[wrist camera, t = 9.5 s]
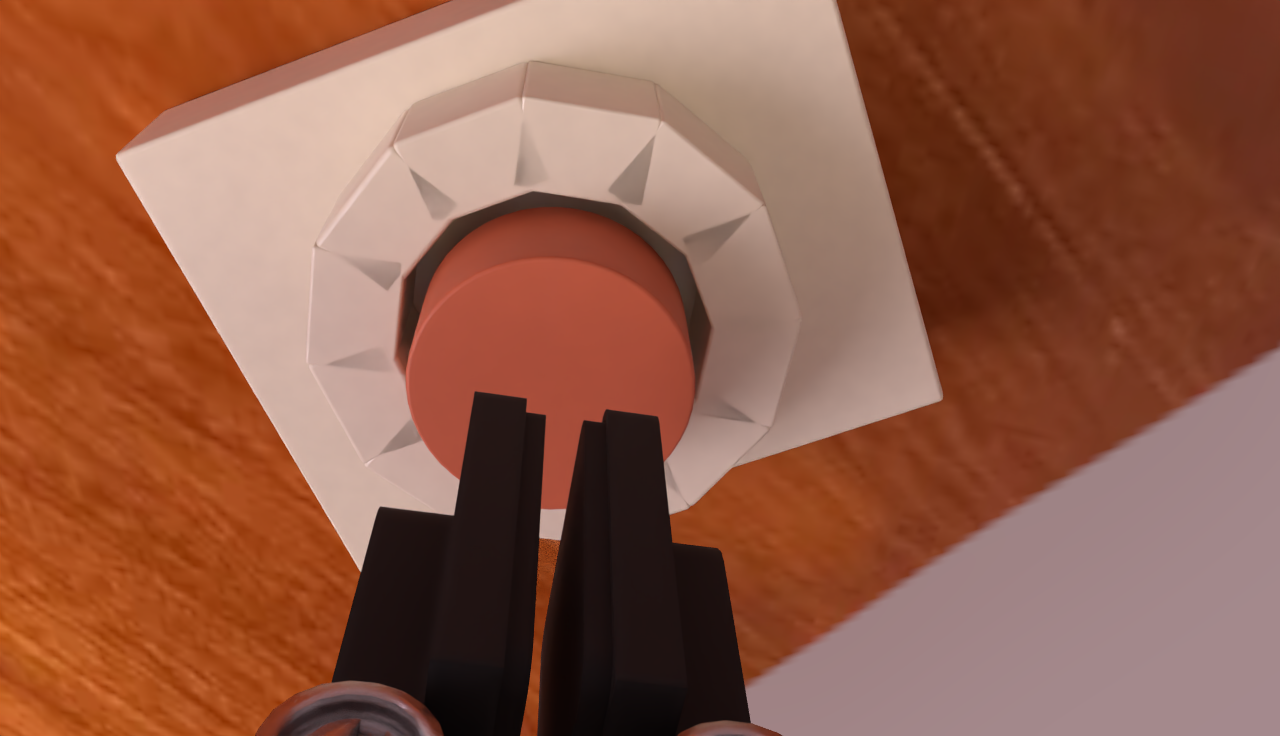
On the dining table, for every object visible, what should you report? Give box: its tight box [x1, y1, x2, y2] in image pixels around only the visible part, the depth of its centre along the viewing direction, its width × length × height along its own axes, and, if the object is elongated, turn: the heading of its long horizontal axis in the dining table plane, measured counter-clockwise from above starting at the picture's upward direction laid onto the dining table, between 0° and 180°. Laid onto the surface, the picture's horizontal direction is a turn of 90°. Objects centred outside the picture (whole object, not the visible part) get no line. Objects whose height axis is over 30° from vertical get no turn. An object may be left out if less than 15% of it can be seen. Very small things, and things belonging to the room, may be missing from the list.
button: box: [406, 207, 695, 510], centre depth 16 cm, size 4×4×2 cm
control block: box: [116, 0, 943, 572], centre depth 18 cm, size 10×8×4 cm
